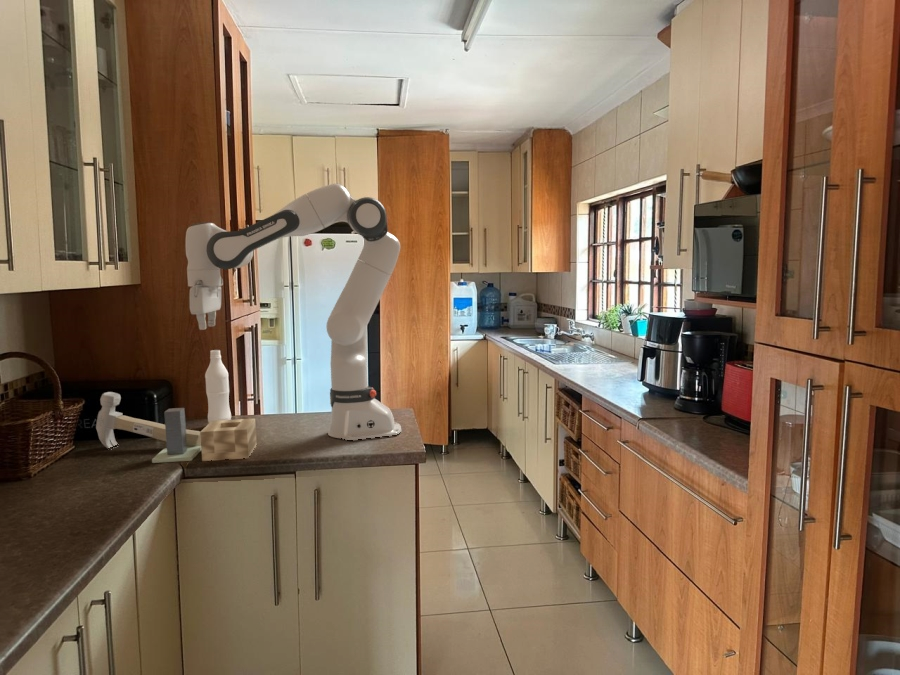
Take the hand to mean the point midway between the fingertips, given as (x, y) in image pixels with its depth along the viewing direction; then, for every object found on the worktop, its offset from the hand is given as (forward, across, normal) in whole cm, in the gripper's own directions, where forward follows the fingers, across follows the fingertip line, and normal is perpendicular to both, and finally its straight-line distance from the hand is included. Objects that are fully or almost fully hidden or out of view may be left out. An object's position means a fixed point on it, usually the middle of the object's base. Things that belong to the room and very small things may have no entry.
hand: (207, 327), depth 172 cm
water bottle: (+34, +19, +3) cm, 39 cm away
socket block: (+34, -12, -7) cm, 37 cm away
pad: (+34, -12, +7) cm, 37 cm away
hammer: (+34, -2, +17) cm, 39 cm away
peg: (+33, -12, +7) cm, 36 cm away
